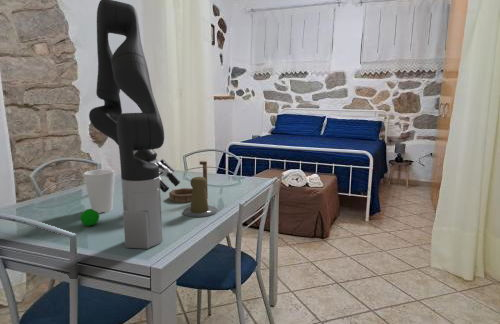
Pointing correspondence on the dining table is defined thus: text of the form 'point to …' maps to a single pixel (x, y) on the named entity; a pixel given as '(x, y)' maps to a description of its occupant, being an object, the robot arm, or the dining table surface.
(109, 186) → the foam cup
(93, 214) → the polyhedron
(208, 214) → the slate coaster
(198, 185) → the cork
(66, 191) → the dining table surface
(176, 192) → the ring stand
